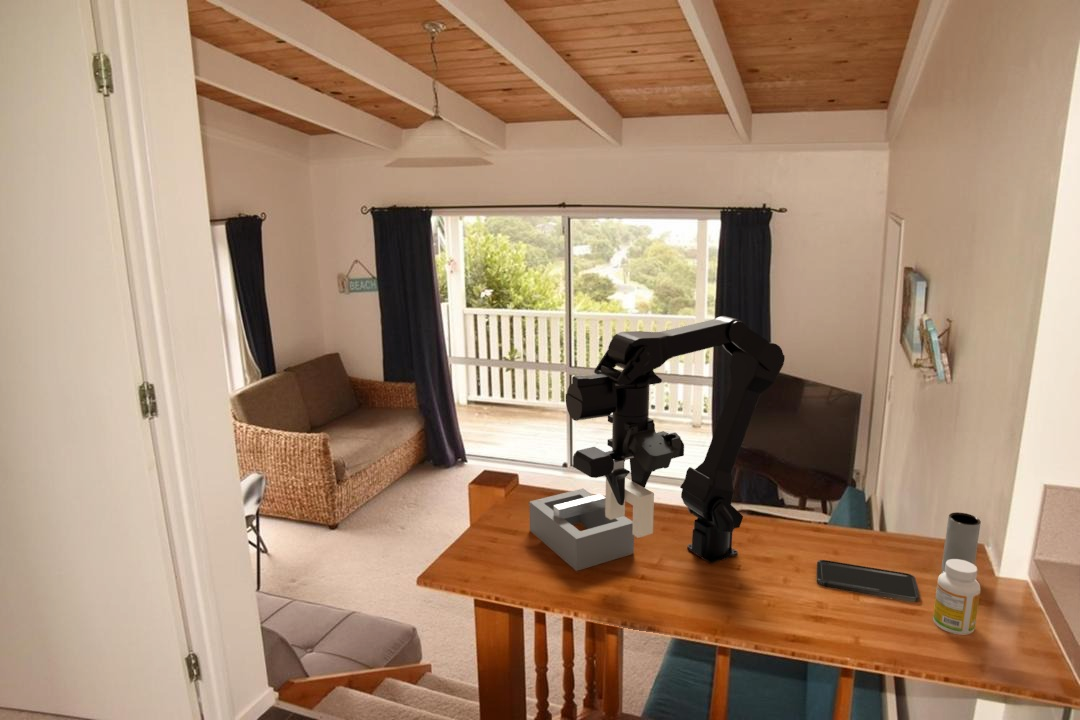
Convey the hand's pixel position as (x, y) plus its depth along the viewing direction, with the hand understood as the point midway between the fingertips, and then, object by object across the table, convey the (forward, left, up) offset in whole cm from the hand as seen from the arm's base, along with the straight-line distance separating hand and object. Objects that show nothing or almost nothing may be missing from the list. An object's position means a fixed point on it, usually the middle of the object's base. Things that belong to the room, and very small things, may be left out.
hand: (628, 502), depth 116 cm
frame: (+1, -13, -13) cm, 19 cm away
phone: (-32, +22, -14) cm, 41 cm away
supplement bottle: (-33, +36, -13) cm, 51 cm away
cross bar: (+1, -13, -7) cm, 15 cm away
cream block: (0, 0, -4) cm, 4 cm away
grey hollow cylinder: (-47, +28, -13) cm, 56 cm away
